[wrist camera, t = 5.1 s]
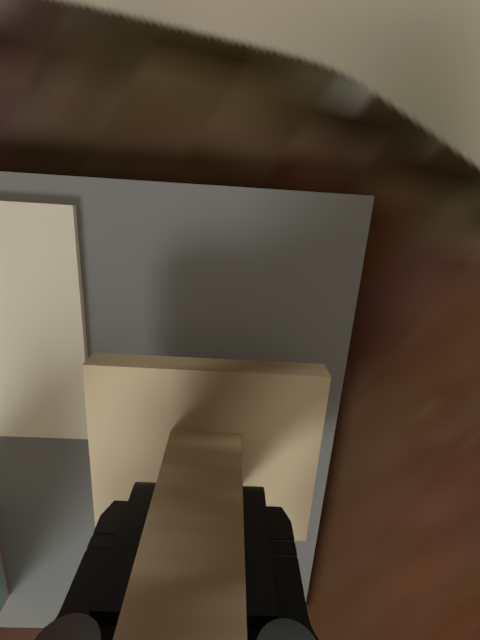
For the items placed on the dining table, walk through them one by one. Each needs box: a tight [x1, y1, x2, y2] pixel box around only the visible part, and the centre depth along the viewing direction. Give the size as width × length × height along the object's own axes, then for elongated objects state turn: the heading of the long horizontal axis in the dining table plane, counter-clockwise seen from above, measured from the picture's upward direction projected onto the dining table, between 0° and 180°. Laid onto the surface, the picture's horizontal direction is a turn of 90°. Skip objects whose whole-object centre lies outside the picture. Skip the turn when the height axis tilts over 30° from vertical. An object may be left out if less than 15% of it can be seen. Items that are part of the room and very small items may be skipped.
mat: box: [0, 171, 375, 628], centre depth 17 cm, size 22×24×1 cm
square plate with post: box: [82, 352, 331, 640], centre depth 8 cm, size 8×7×11 cm
